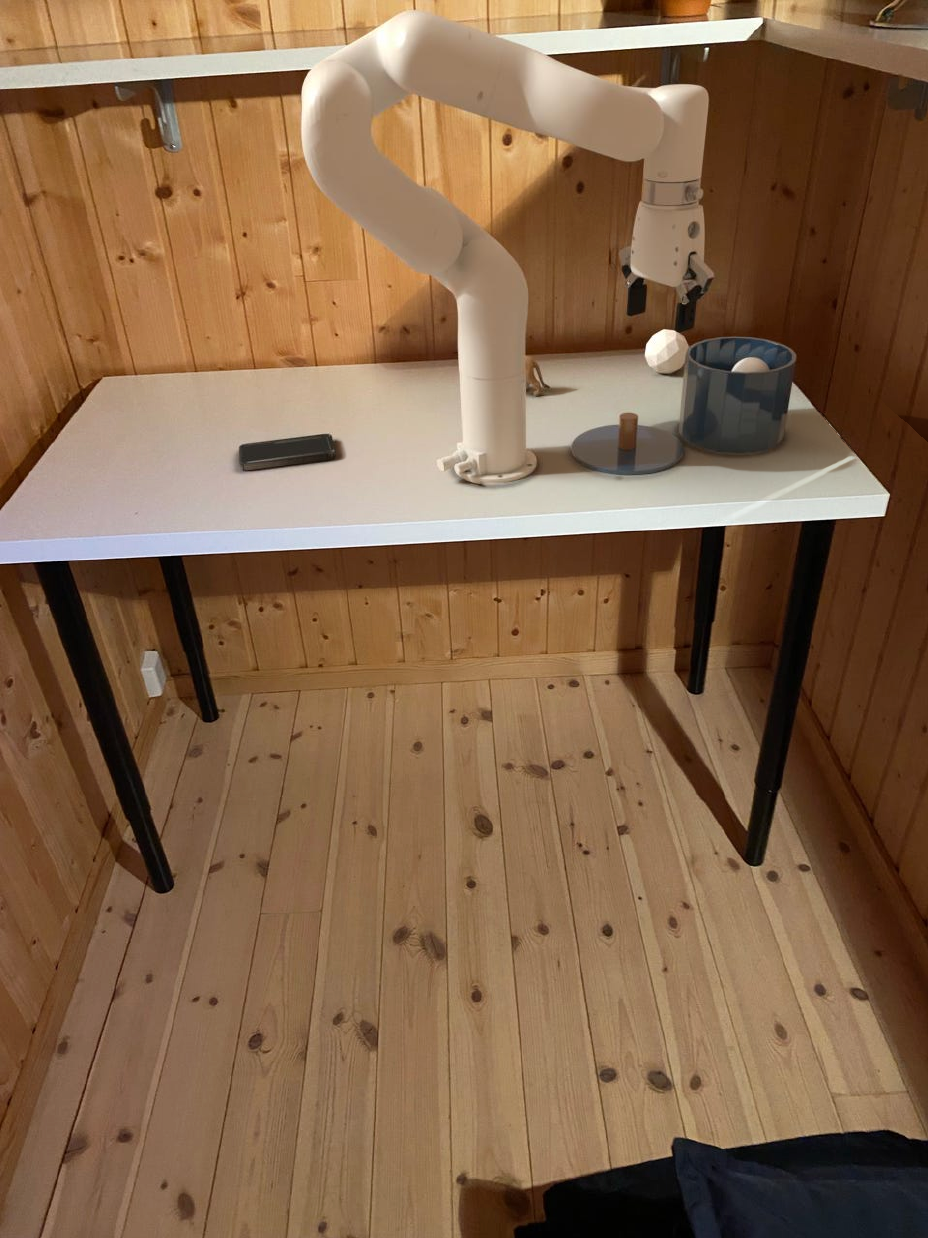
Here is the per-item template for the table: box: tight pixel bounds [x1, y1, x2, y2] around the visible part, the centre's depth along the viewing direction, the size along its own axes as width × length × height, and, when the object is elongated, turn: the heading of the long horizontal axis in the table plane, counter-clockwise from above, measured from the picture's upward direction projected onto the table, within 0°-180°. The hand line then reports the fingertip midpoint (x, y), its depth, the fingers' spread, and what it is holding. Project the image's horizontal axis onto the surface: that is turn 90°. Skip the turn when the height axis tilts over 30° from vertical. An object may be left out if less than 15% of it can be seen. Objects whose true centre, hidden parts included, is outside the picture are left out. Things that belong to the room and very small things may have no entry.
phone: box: [238, 433, 336, 471], centre depth 147 cm, size 8×1×15 cm
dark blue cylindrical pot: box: [678, 336, 797, 454], centre depth 142 cm, size 16×16×13 cm
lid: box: [571, 412, 684, 476], centre depth 140 cm, size 17×17×6 cm
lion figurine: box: [525, 354, 551, 397], centre depth 162 cm, size 15×5×9 cm, turn 92°
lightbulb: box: [732, 357, 769, 372], centre depth 144 cm, size 6×6×11 cm
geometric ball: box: [644, 328, 690, 375], centre depth 167 cm, size 8×8×8 cm
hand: (659, 321), depth 132 cm, fingers open, 9 cm apart
